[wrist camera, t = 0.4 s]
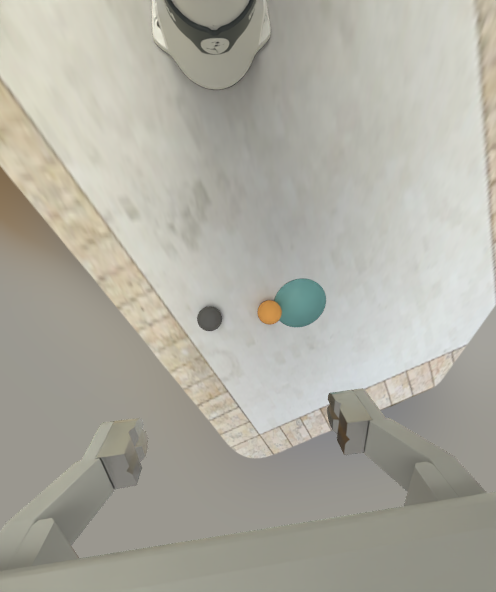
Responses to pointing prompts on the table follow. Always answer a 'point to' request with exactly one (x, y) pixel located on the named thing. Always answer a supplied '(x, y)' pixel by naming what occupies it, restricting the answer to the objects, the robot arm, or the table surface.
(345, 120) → the table surface
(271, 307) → the orange ball
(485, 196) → the table surface
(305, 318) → the teal flat disc
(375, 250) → the table surface
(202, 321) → the black ball
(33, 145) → the table surface
